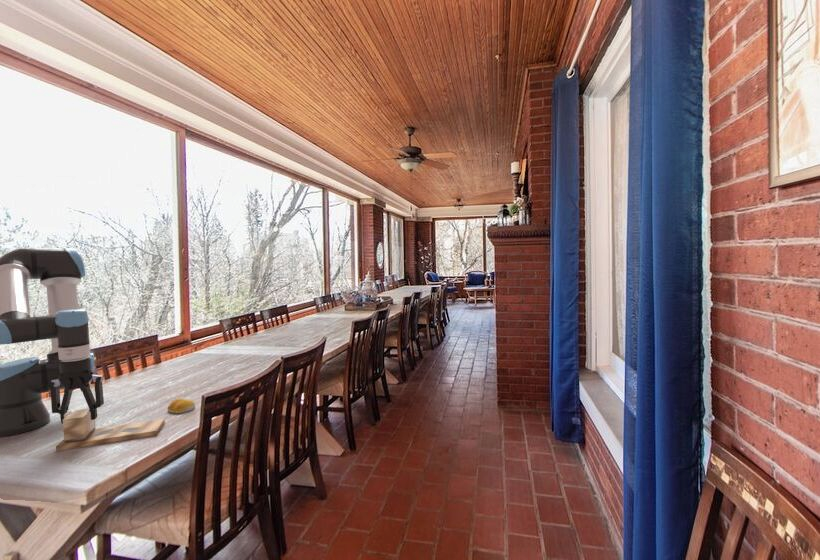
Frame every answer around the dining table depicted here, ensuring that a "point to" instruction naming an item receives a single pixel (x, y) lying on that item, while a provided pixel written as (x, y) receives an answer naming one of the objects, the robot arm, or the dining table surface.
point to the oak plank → (115, 434)
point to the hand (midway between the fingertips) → (80, 431)
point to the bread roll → (181, 406)
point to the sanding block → (76, 426)
